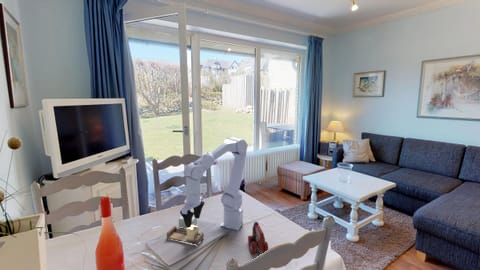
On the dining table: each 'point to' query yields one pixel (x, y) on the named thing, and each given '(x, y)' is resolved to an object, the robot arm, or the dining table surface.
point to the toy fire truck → (257, 239)
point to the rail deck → (182, 235)
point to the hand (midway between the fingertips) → (192, 222)
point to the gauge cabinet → (182, 223)
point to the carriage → (192, 233)
